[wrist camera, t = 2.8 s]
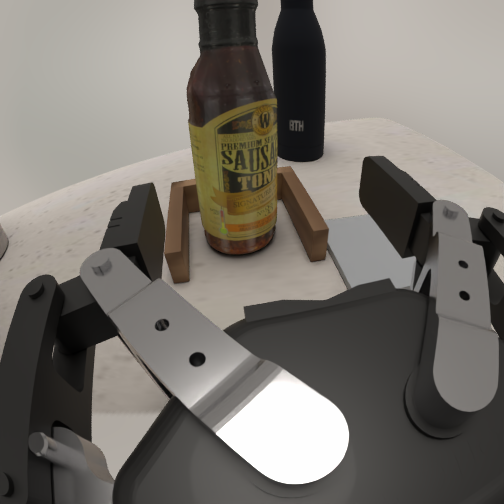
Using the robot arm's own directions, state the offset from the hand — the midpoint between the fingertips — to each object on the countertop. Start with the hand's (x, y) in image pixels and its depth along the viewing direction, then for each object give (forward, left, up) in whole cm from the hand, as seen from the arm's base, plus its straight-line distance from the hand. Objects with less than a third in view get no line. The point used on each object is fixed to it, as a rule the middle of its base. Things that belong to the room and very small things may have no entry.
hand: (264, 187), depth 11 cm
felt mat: (+11, +6, -11) cm, 17 cm away
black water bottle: (+10, +27, -11) cm, 31 cm away
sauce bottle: (0, +11, -11) cm, 16 cm away
